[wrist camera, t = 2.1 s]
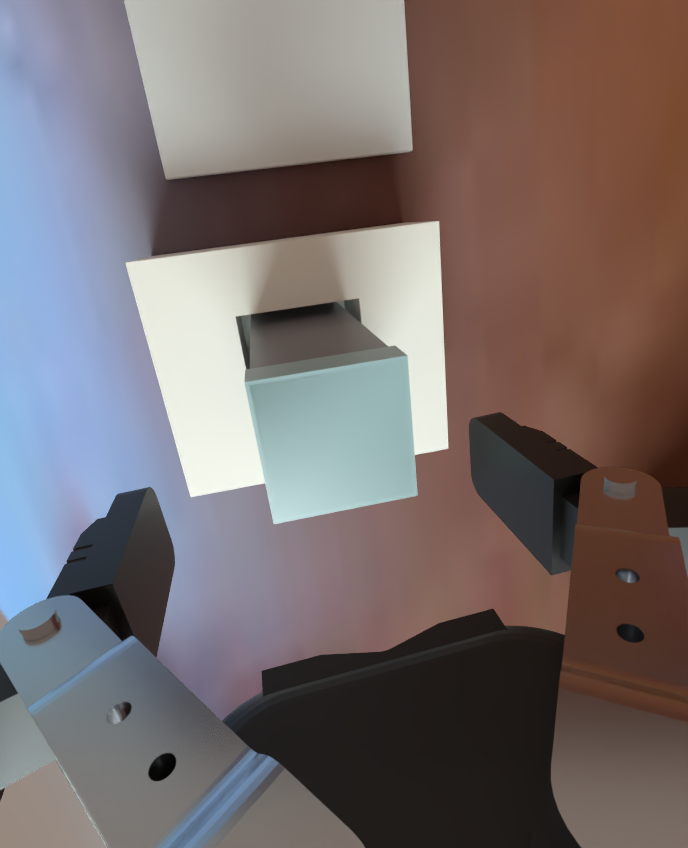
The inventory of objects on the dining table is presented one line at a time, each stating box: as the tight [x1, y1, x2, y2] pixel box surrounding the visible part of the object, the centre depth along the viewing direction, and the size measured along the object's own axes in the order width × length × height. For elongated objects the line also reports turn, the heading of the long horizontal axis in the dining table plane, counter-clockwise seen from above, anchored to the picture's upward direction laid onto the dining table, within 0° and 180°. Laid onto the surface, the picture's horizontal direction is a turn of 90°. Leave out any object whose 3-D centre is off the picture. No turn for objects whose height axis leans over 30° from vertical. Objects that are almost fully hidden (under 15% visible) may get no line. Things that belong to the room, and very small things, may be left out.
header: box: [126, 221, 448, 497], centre depth 23 cm, size 12×10×5 cm
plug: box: [244, 302, 417, 524], centre depth 19 cm, size 4×4×12 cm
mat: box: [124, 0, 413, 180], centre depth 20 cm, size 11×8×1 cm
